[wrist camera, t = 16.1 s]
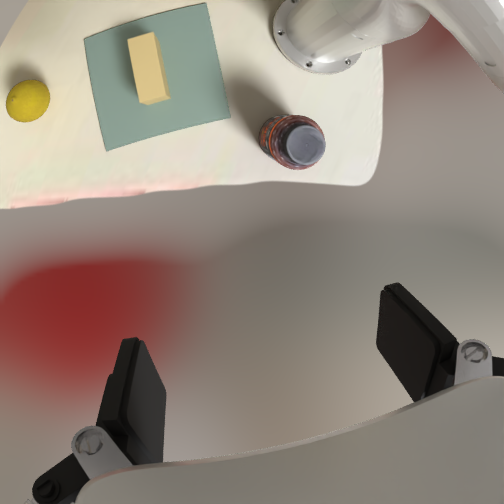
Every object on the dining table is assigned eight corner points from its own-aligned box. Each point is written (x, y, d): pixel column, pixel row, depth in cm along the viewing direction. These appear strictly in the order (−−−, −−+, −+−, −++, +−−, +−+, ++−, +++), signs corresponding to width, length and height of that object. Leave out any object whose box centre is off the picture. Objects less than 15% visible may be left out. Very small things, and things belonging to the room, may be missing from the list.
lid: (206, 5, 31) (206, -12, 26) (230, 117, 38) (234, 116, 32) (86, 40, 30) (69, 30, 25) (108, 150, 37) (93, 155, 32)
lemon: (64, 106, 33) (36, 105, 26) (34, 128, 33) (3, 132, 26) (51, 74, 31) (22, 68, 23) (22, 96, 31) (-10, 96, 24)
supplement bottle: (264, 110, 37) (285, 106, 27) (307, 122, 39) (342, 124, 28) (252, 154, 40) (269, 166, 29) (296, 165, 41) (326, 181, 30)
